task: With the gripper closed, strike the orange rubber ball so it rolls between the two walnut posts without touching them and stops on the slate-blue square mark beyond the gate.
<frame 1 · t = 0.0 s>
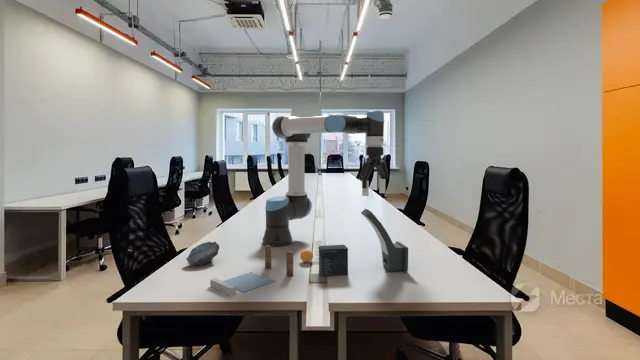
hand: (374, 194, 161), 28 cm above the table, tool pointing down, fingers open, 13 cm apart
box: (333, 273, 141), on the table
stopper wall: (222, 290, 123), on the table
post 1: (268, 267, 147), on the table
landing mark: (247, 281, 131), on the table
post 2: (289, 275, 138), on the table
grey curved piece: (383, 269, 146), on the table
ball: (306, 255, 154), on the table
rock: (204, 263, 152), on the table
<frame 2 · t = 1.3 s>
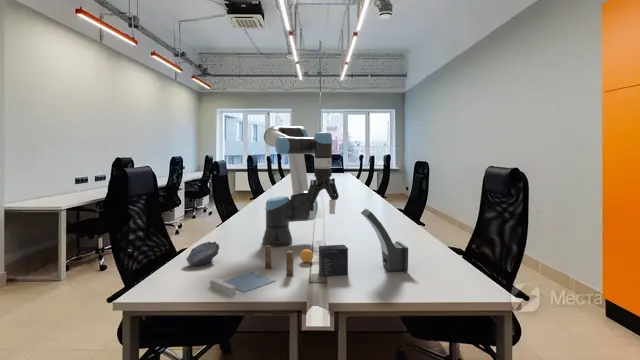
hand: (322, 216, 160), 18 cm above the table, tool pointing down, fingers open, 13 cm apart
nothing on the table moved.
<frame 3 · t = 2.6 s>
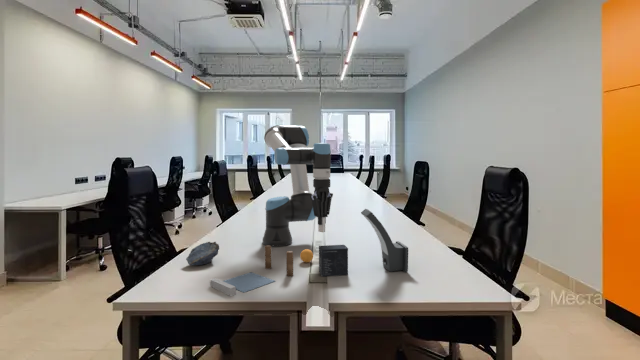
hand: (321, 231, 160), 12 cm above the table, tool pointing down, fingers closed
nothing on the table moved.
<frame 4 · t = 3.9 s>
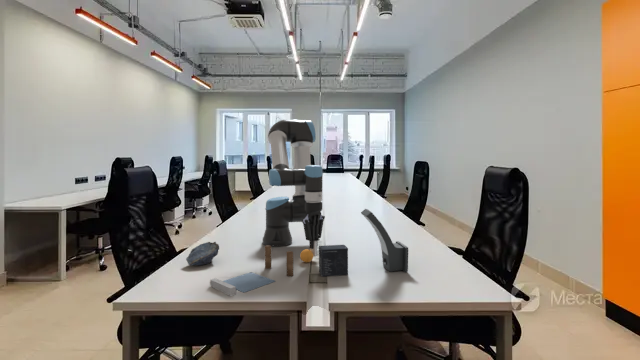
hand: (313, 255, 157), 2 cm above the table, tool pointing down, fingers closed
nothing on the table moved.
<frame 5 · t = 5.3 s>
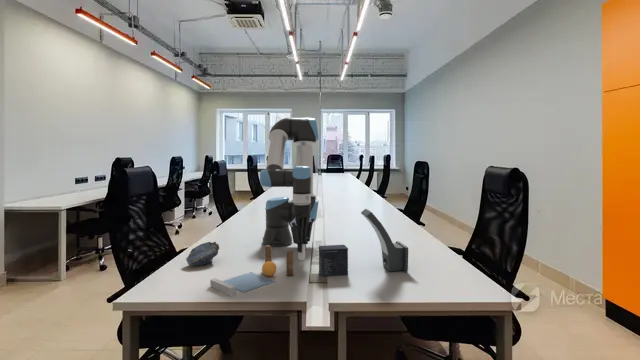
hand: (301, 259, 152), 2 cm above the table, tool pointing down, fingers closed
ball: (269, 268, 137), on the table
everything else where it was.
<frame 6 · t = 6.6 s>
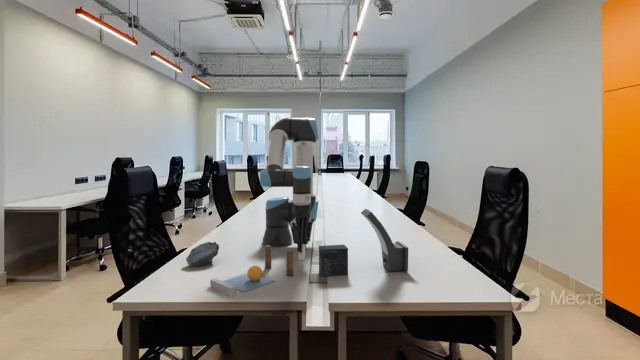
hand: (301, 259, 152), 2 cm above the table, tool pointing down, fingers closed
ball: (254, 273, 132), on the table
everything else where it was.
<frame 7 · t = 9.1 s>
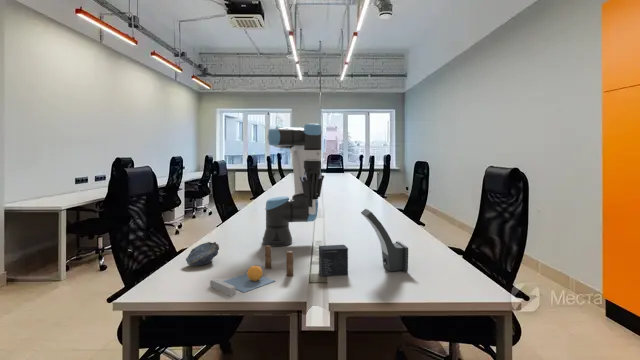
hand: (312, 213, 158), 20 cm above the table, tool pointing down, fingers closed
nothing on the table moved.
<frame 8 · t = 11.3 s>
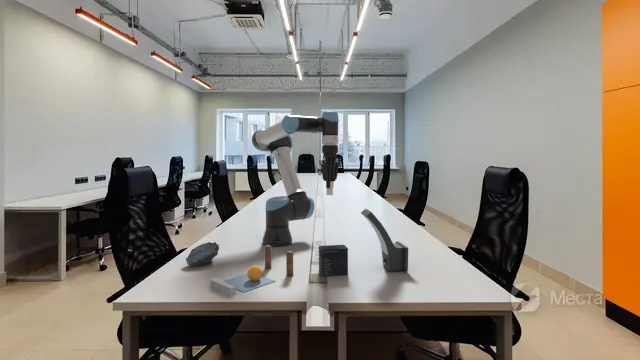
hand: (329, 195, 171), 26 cm above the table, tool pointing down, fingers closed
nothing on the table moved.
at the end: ball 2.7 cm from the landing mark (horizontally); ball never touched post 1; ball never touched post 2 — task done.
